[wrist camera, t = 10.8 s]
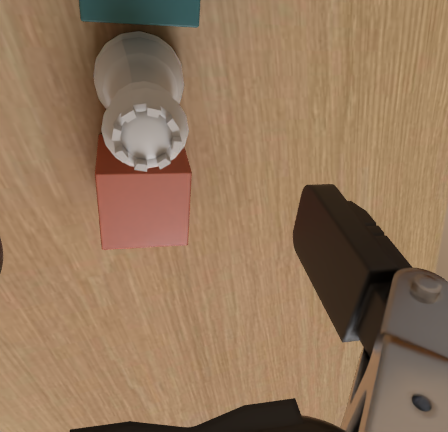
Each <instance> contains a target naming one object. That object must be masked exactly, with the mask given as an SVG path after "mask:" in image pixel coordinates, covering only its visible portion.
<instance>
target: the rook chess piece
mask: <svg viewBox="0 0 448 432" xmlns="http://www.w3.org/2000/svg"><path fill="white" fill-rule="evenodd" d="M93 77H94V84H95V88H96V91H97V95H98V99H99V100H100V102H101V103H102V104H103V106H104V107H105V108H106V109H107V110H106V111H105V113H104V116H103V122H102V128H101V131H102V134H103V138H104V141H105V145H106V146H107V148H108V149H109V150H110V151H111V153H112V154H113V155H114V156H115V158H117V159H118V160H120V161H121V162H122V163H125V164H127V165H129V166H133V167H134V170H138V171H144V172H147V169H148V168H153V167H159V168H160V169H162V168H164V167H166V166H167V165H169V164H171V160H173V159H175V158H176V157H177V155H178V154H179V153H180V151H181V150H182V149H183V148H184V146H185V143H186V140H187V136H188V132H189V130H188V123H187V116H186V114H185V113H184V111H183V110H182V108H181V106H180V105H179V103H180V101H181V97H182V93H183V89H184V79H183V72H182V65H181V62H180V60H179V59H178V57H177V55H176V53H175V52H174V50H173V48H172V47H171V46H169V45H168V44H167V43H166V42H164V41H163V40H162V39H160V38H159V37H158V36H155V35H151V34H148V33H144V32H140V31H137V32H130V33H123V34H120V35H118V36H116V37H115V38H113V39H112V40H110V41H109V42H107V43H106V44H105V45H104V47H103V48H102V50H101V51H100V53H99V55H98V56H97V58H96V61H95V68H94V75H93Z"/></svg>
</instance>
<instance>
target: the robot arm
mask: <svg viewBox="0 0 448 432" xmlns="http://www.w3.org/2000/svg"><path fill="white" fill-rule="evenodd" d="M293 244H294V248H295V251H296V253H297V255H298V257H299V259H300V261H301V263H302V265H303V267H304V269H305V271H306V273H307V275H308V277H309V279H310V280H311V282H312V284H313V286H314V288H315V290H316V292H317V294H318V296H319V298H320V300H321V302H322V304H323V306H324V308H325V309H326V311H327V313H328V315H329V317H330V319H331V321H332V323H333V325H334V327H335V329H336V331H337V333H338V335H339V337H340V339H341V340H342V342H350V341H359V340H360V341H361V343H362V345H363V350H362V352H361V354H360V357H359V361H358V365H357V369H356V373H355V376H354V380H353V384H352V388H351V392H350V395H349V399H348V403H347V407H346V411H345V414H344V417H343V421H342V424H341V426H340V428H339V427H337V426H335V425H333V424H331V423H328V422H326V421H323V420H320V419H316V418H312V417H308V416H302V415H301V414H300V411H299V408H298V405H297V402H296V400H295V398H294V399H287V400H280V401H273V402H266V403H258V404H251V405H244V406H242V407H239V408H237V409H235V410H232V411H230V412H228V413H225V414H223V415H221V416H218V417H216V418H214V419H211V420H209V421H206V422H204V423H202V424H199V425H197V426H194V427H176V426H167V425H158V424H149V423H140V422H131V421H129V422H122V423H115V424H108V425H101V426H93V427H86V428H79V429H72V430H70V432H448V282H447V281H446V280H445V279H444V278H442V277H440V276H439V275H437V274H435V273H433V272H430V271H427V270H424V269H419V268H412V266H411V265H410V264H409V263H408V261H407V260H406V259H405V258H404V257H403V255H402V254H401V253H400V252H399V250H398V249H397V248H396V247H395V246H394V244H393V243H392V242H391V241H390V239H389V238H388V237H387V236H384V232H383V231H382V230H381V228H380V227H379V226H376V222H375V221H374V220H373V219H372V217H371V216H370V215H369V214H368V213H367V211H365V210H364V209H362V208H361V207H359V206H358V205H356V204H355V203H353V202H352V201H347V200H346V199H345V198H344V196H343V195H342V194H341V193H340V191H339V190H338V189H337V188H336V186H335V185H333V184H322V185H306V186H305V187H304V189H303V191H302V194H301V199H300V203H299V208H298V212H297V216H296V221H295V225H294V230H293ZM2 264H3V248H2V243H1V239H0V272H1V269H2Z"/></svg>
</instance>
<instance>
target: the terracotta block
mask: <svg viewBox="0 0 448 432" xmlns="http://www.w3.org/2000/svg"><path fill="white" fill-rule="evenodd" d="M191 174H192V173H191V169H190V165H189V162H188V158H187V155H186V151H185V148H183V149H182V150H181V151H180V153H179V154H178V155H177V157H176V158H175V159H173V160H171V164H169V165H167V166H166V167H164V168H162V169H160V168H159V167H153V168H148V169H147V172H144V171H138V170H134V167H133V166H129V165H127V164H125V163H122V162H121V161H120V160H118V159H117V158H115V156H114V155H113V154H112V153H111V151H110V150H109V149H108V148H107V146H106V145H105V141H104V138H103V134H100V135H99V137H98V147H97V158H96V169H95V180H96V191H97V202H98V213H99V224H100V235H101V245H102V250H108V249H126V248H145V247H163V246H181V245H188V233H189V214H190V194H191Z"/></svg>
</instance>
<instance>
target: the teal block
mask: <svg viewBox="0 0 448 432" xmlns="http://www.w3.org/2000/svg"><path fill="white" fill-rule="evenodd" d="M79 7H80V18H81V21H85V22H104V23H123V24H141V25H160V26H178V27H198V26H199V16H200V0H79Z"/></svg>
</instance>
